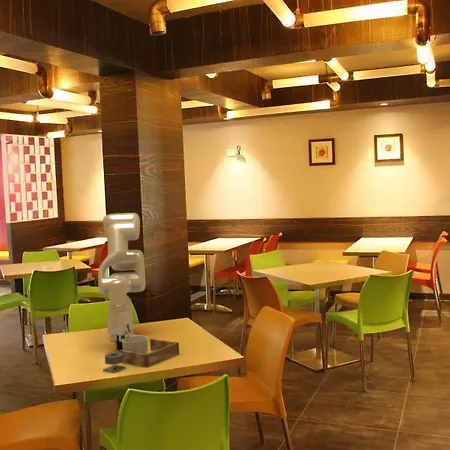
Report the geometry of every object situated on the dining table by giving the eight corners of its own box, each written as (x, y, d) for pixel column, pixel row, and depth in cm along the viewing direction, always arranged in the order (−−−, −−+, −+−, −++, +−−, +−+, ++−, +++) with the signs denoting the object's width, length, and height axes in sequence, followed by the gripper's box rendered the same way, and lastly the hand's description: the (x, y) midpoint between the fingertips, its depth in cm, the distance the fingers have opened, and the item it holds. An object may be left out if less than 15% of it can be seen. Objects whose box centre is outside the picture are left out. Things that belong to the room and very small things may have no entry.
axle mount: (103, 370, 233) (102, 362, 233) (114, 366, 238) (114, 357, 238) (114, 372, 229) (114, 364, 229) (126, 368, 235) (125, 359, 234)
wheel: (101, 363, 233) (101, 356, 232) (114, 358, 238) (113, 351, 238) (114, 365, 229) (113, 358, 228) (126, 360, 234) (126, 353, 234)
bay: (119, 362, 243) (118, 350, 243) (152, 349, 260) (151, 338, 259) (147, 367, 234) (146, 355, 234) (179, 354, 251) (178, 342, 251)
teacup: (148, 359, 246) (147, 340, 245) (122, 361, 244) (121, 342, 244) (147, 350, 260) (146, 332, 259) (122, 352, 258) (121, 334, 257)
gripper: (99, 308, 256) (102, 349, 257) (124, 311, 248) (127, 354, 249) (112, 305, 262) (114, 345, 264) (137, 308, 254) (139, 349, 255)
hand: (120, 349), depth 256 cm, fingers closed
